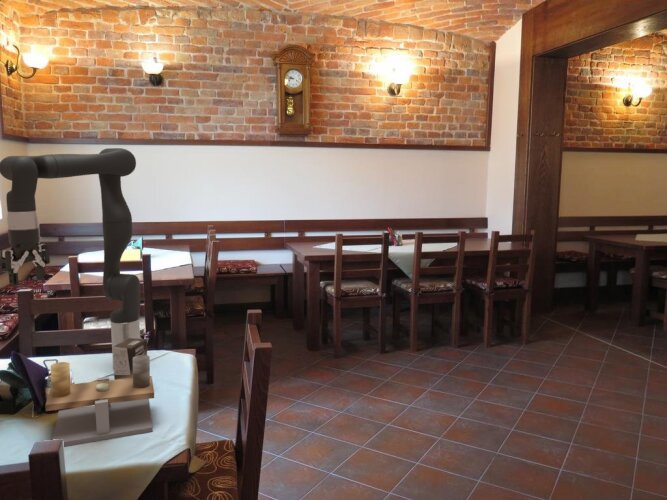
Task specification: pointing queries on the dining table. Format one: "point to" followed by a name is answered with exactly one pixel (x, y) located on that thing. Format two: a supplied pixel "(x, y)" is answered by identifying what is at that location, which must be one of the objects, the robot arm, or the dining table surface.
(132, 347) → the coffee box
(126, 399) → the plate
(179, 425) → the dining table surface
